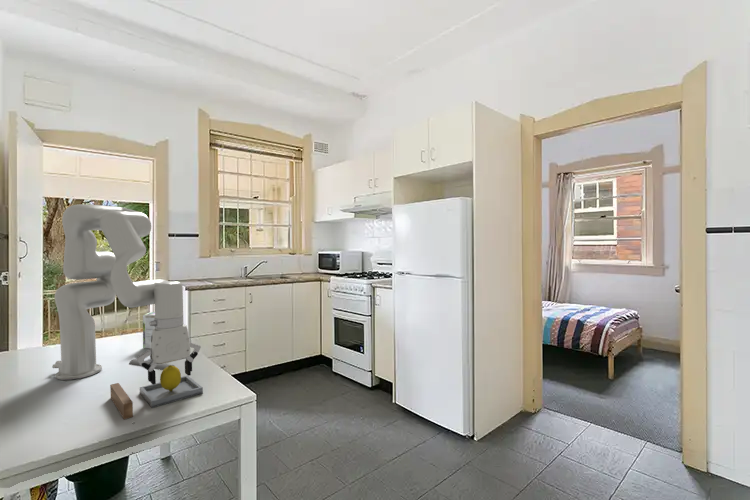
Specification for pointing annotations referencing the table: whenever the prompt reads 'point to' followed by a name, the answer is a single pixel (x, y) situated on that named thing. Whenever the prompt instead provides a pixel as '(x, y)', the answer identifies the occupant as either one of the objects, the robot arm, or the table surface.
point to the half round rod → (159, 366)
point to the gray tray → (170, 392)
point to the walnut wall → (121, 401)
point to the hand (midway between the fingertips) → (170, 378)
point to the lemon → (170, 378)
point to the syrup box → (147, 329)
